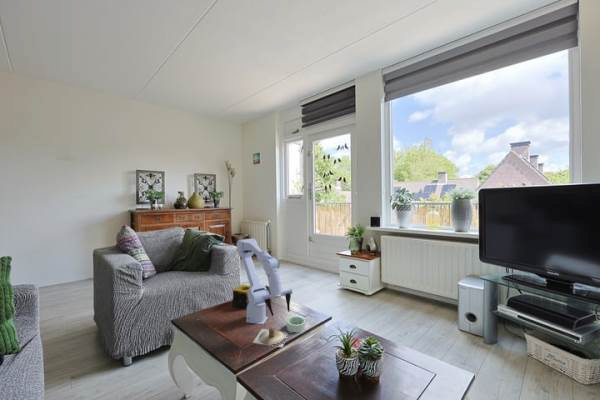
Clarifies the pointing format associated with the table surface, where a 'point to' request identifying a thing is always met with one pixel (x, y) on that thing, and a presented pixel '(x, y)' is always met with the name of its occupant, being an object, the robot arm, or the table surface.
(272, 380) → the table surface
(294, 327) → the bowl
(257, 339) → the mat
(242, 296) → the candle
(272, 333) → the lid
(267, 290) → the lighter
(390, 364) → the table surface
